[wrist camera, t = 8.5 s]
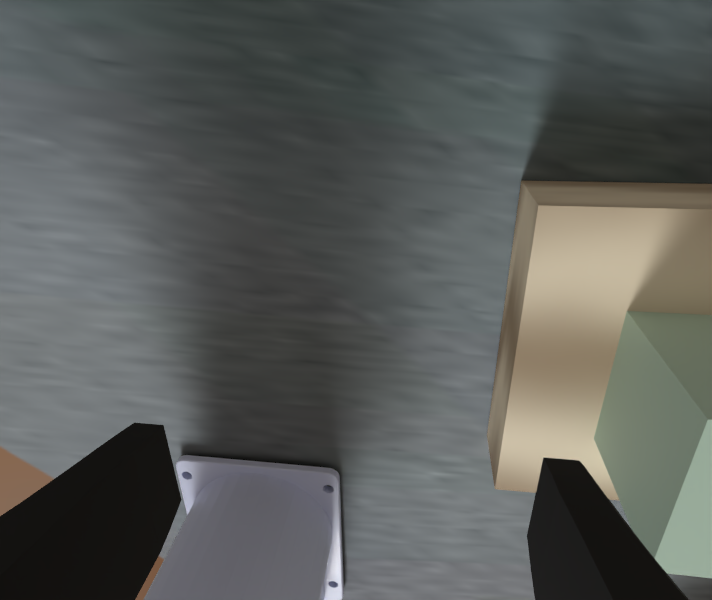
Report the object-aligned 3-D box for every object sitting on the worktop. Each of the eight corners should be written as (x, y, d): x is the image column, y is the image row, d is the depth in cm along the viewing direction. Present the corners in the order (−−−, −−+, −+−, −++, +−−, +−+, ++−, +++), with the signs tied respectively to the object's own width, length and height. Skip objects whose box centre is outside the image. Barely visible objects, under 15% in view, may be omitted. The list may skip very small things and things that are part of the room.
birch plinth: (764, 456, 20) (814, 518, 18) (487, 434, 22) (495, 489, 19) (890, 187, 15) (986, 216, 13) (521, 180, 17) (538, 205, 14)
